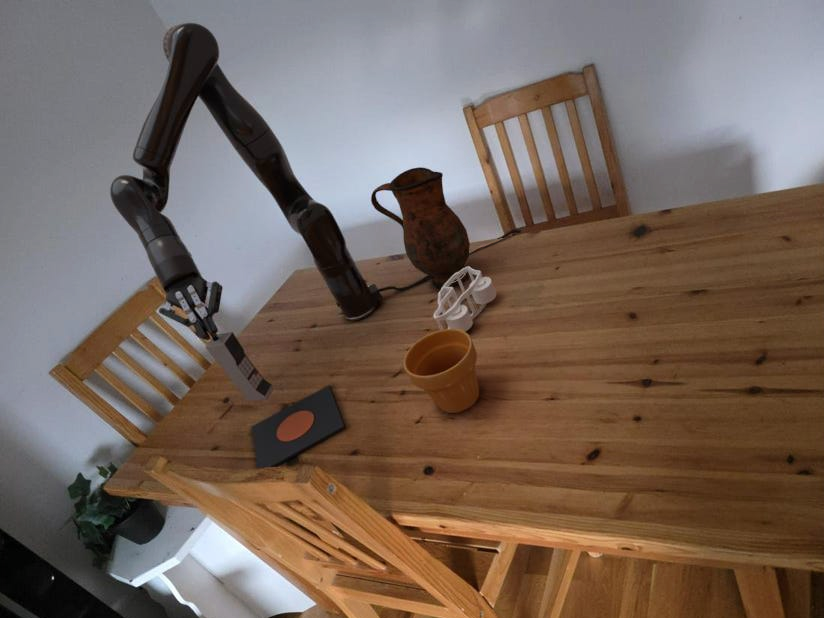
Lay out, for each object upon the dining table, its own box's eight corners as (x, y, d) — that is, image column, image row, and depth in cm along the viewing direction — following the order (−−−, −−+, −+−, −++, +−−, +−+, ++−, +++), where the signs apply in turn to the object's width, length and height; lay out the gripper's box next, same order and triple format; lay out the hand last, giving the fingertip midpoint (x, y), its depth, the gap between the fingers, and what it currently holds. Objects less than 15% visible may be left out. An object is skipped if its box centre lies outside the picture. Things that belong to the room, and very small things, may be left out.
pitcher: (472, 293, 153) (429, 187, 135) (400, 301, 162) (351, 202, 143) (488, 257, 164) (451, 154, 146) (420, 266, 173) (377, 170, 155)
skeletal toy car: (463, 344, 138) (452, 320, 133) (427, 338, 144) (416, 315, 140) (505, 292, 148) (497, 267, 144) (470, 288, 155) (461, 265, 150)
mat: (330, 387, 142) (328, 384, 141) (345, 428, 128) (343, 425, 128) (253, 428, 139) (250, 425, 138) (260, 475, 126) (257, 472, 125)
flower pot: (418, 395, 129) (394, 351, 121) (476, 364, 131) (456, 318, 123) (440, 434, 118) (415, 388, 110) (502, 399, 119) (482, 351, 112)
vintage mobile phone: (267, 400, 130) (198, 311, 115) (249, 402, 132) (179, 315, 116) (275, 388, 133) (208, 299, 117) (257, 390, 134) (189, 303, 119)
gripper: (132, 273, 117) (170, 349, 114) (196, 242, 118) (235, 316, 116) (151, 284, 124) (187, 356, 122) (211, 254, 126) (248, 325, 124)
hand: (210, 336), depth 119 cm, fingers closed on vintage mobile phone, 1 cm apart
